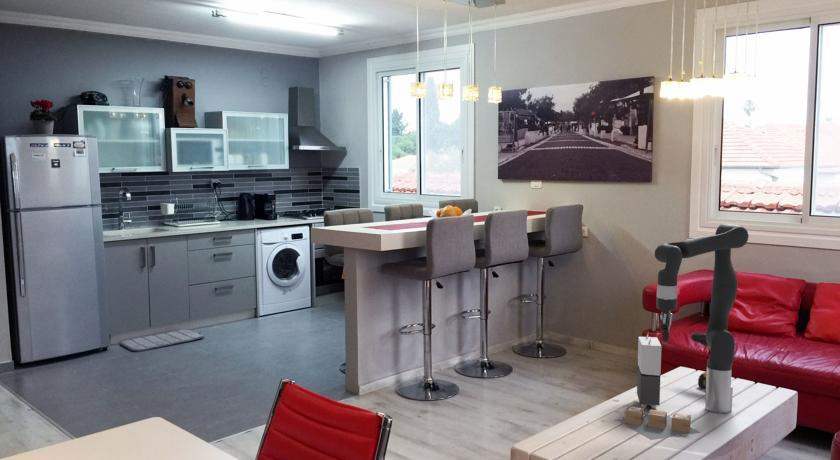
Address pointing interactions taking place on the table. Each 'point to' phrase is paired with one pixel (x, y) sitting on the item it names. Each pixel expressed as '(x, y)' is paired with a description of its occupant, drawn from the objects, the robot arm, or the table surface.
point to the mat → (654, 432)
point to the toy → (649, 371)
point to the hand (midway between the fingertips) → (665, 340)
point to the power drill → (702, 339)
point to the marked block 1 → (634, 416)
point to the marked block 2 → (681, 422)
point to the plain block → (657, 419)
